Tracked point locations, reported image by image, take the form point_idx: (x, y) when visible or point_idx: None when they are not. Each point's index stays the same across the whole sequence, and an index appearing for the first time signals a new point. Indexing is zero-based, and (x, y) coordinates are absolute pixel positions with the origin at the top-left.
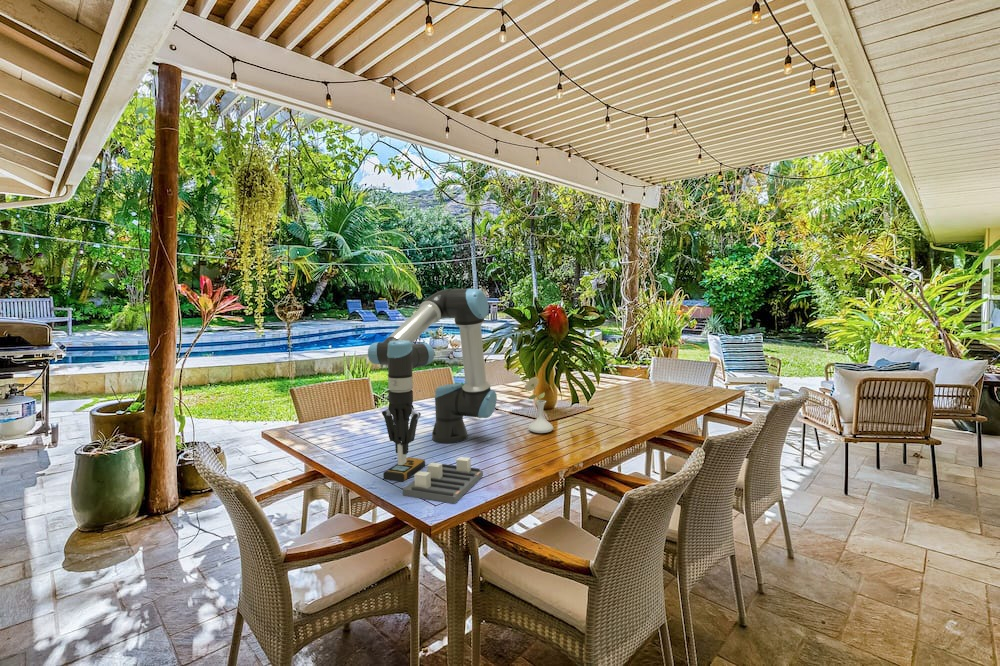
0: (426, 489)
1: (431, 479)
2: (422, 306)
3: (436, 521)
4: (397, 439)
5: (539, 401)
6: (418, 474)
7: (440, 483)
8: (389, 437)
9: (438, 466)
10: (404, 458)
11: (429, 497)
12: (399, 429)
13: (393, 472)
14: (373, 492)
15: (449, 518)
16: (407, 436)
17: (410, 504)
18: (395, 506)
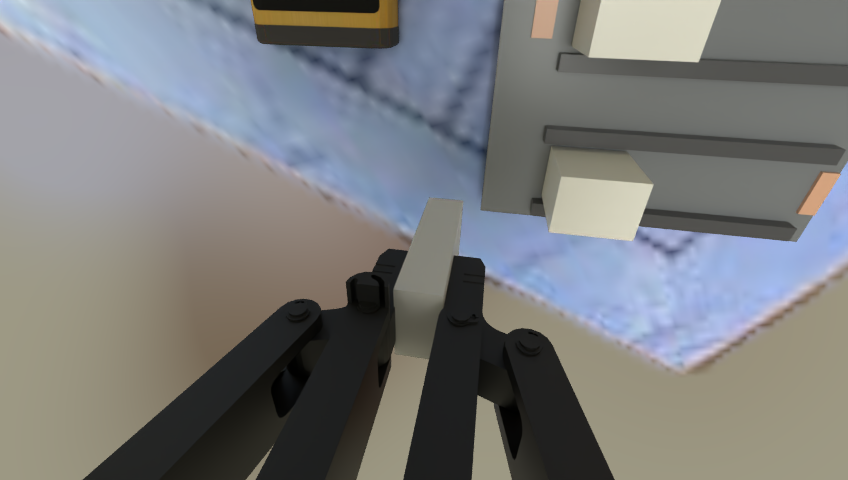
0: None
1: (612, 73)
2: None
3: (699, 354)
4: (380, 390)
5: None
6: (575, 228)
7: (682, 91)
8: (281, 384)
9: (701, 49)
10: (457, 243)
11: None
12: (346, 470)
13: (317, 37)
14: (342, 197)
15: (753, 333)
16: (506, 455)
17: (553, 263)
18: (499, 285)
